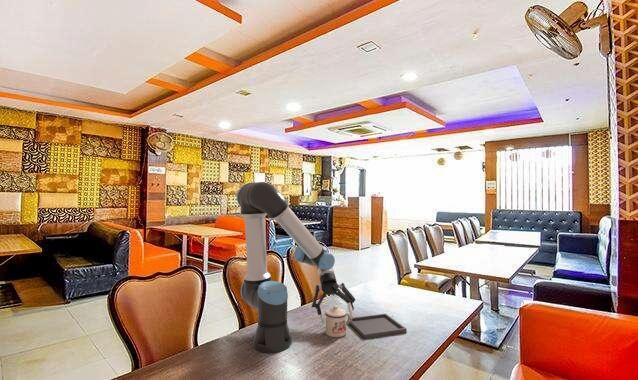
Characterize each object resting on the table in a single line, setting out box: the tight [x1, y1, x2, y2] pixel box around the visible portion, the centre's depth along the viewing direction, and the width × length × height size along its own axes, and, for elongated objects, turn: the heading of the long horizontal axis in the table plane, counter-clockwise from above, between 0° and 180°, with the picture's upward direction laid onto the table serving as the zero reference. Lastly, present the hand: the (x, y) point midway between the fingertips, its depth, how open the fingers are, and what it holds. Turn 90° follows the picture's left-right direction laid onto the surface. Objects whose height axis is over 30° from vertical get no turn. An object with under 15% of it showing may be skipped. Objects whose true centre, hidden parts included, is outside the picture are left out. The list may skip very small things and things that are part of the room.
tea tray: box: [348, 313, 407, 340], centre depth 142 cm, size 20×18×2 cm
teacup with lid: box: [324, 305, 351, 338], centre depth 137 cm, size 12×9×12 cm
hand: (338, 319), depth 136 cm, fingers open, 13 cm apart
